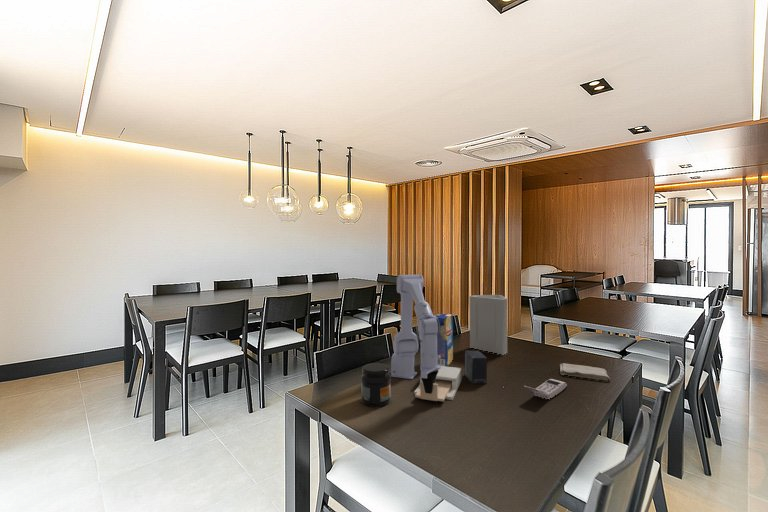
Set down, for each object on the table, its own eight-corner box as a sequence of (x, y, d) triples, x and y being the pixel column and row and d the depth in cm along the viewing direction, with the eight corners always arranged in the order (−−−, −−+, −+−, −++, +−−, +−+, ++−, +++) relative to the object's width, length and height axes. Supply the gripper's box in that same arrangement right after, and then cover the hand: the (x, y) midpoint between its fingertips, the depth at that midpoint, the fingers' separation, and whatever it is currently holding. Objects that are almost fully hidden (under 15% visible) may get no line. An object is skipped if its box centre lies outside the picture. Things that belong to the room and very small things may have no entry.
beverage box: (453, 360, 171) (452, 314, 170) (446, 367, 161) (445, 318, 161) (439, 358, 174) (439, 313, 174) (431, 365, 164) (431, 317, 164)
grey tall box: (515, 349, 189) (515, 296, 188) (503, 355, 178) (503, 299, 178) (482, 342, 202) (482, 293, 201) (469, 348, 191) (469, 296, 191)
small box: (488, 383, 141) (488, 357, 141) (471, 384, 140) (471, 357, 140) (479, 374, 151) (479, 349, 151) (464, 375, 151) (464, 350, 151)
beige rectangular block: (414, 397, 125) (414, 381, 125) (426, 381, 140) (426, 367, 140) (443, 402, 121) (443, 385, 121) (452, 384, 136) (452, 370, 136)
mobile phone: (523, 385, 124) (553, 368, 141) (522, 402, 124) (553, 383, 141) (540, 390, 120) (569, 372, 136) (540, 408, 120) (569, 387, 137)
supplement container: (397, 400, 126) (396, 366, 125) (375, 410, 118) (375, 374, 118) (376, 392, 133) (376, 360, 133) (354, 401, 126) (354, 367, 125)
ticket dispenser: (414, 394, 131) (414, 380, 131) (427, 376, 150) (427, 364, 150) (452, 400, 126) (452, 385, 126) (461, 380, 145) (461, 368, 144)
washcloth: (559, 368, 160) (559, 361, 160) (606, 373, 152) (606, 366, 152) (559, 376, 149) (559, 369, 149) (610, 383, 142) (610, 375, 142)
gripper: (435, 360, 115) (435, 402, 115) (444, 348, 128) (444, 386, 129) (414, 358, 117) (414, 399, 118) (425, 346, 131) (425, 383, 131)
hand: (429, 392), depth 123 cm, fingers closed, pressing on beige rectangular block
